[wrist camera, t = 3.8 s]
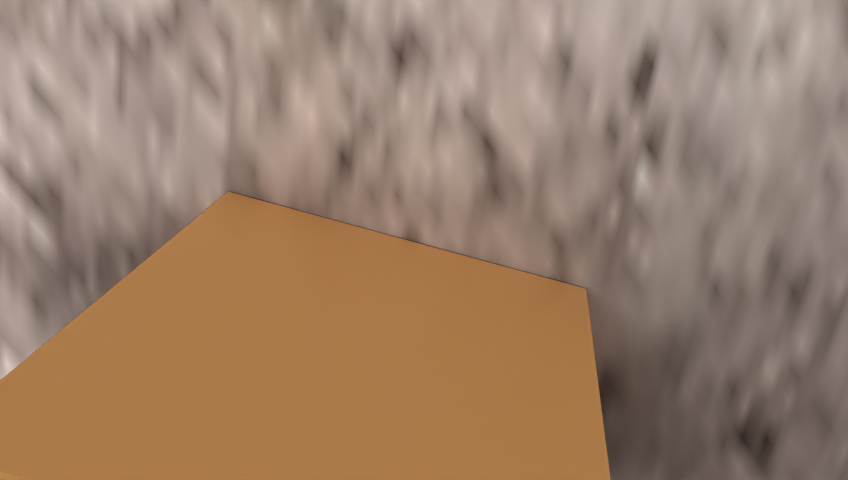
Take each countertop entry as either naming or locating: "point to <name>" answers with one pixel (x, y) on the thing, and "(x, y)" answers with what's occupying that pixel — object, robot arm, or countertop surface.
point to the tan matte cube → (310, 365)
